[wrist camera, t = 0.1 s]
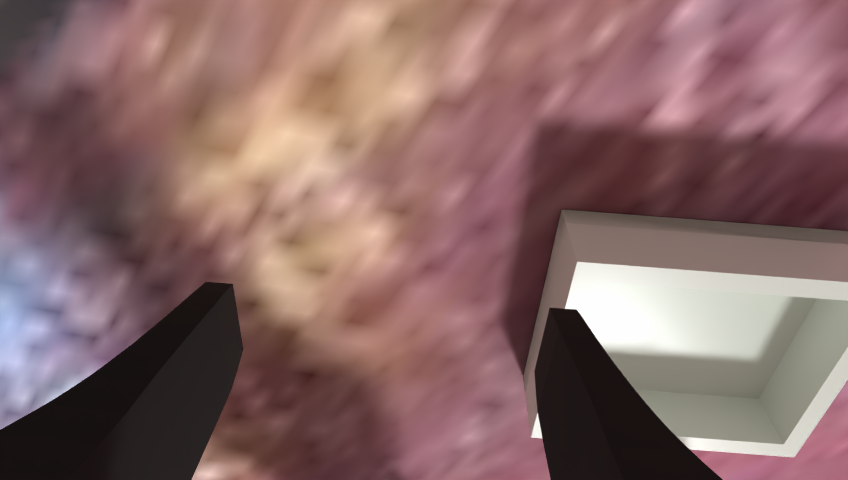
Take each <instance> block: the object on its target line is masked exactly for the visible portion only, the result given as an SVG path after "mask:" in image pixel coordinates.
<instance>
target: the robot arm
mask: <svg viewBox="0 0 848 480" xmlns="http://www.w3.org/2000/svg"><path fill="white" fill-rule="evenodd" d="M242 351H243V346H242V339H241V333H240V327H239V320H238V314H237V308H236V301H235V295H234V289H233V284H226V283H213V282H206V283H204V284H203V285H202V286H201V287H200V288H198V289H197V290H196V291H195V292H194V293H192V294H191V295H190V296H189V297H188V298H187V299H185V300H184V301H183V302H182V303H181V304H180V305H178V306H177V307H176V308H175V309H174V310H173V311H171V312H170V313H169V314H168V315H167V316H166V317H164V318H163V319H162V320H161V321H160V322H159V323H157V324H156V325H155V326H154V327H153V328H151V329H150V330H149V331H148V332H147V333H145V334H144V335H143V336H142V337H140V338H139V339H138V340H137V341H136V342H134V343H133V344H132V345H131V346H129V347H128V348H127V349H125V350H124V351H123V352H121V353H120V354H119V355H117V356H116V357H115V358H113V359H112V360H111V361H110V362H108V363H107V364H106V365H104V366H103V367H102V368H100V369H99V370H97V371H96V372H95V373H93V374H92V375H90V376H89V377H87V378H86V379H84V380H83V381H82V382H80V383H79V384H77V385H76V386H74V387H72V388H71V389H69V390H68V391H66V392H65V393H63V394H62V395H60V396H58V397H57V398H55V399H54V400H52V401H50V402H49V403H47V404H45V405H44V406H42V407H40V408H38V409H37V410H35V411H33V412H31V413H30V414H28V415H26V416H24V417H22V418H21V419H19V420H17V421H15V422H14V423H12V424H10V425H8V426H7V427H5V428H3V429H1V430H0V480H191V479H192V477H193V475H194V472H195V470H196V468H197V466H198V463H199V461H200V459H201V457H202V455H203V452H204V450H205V448H206V446H207V443H208V441H209V439H210V437H211V434H212V432H213V430H214V428H215V425H216V423H217V421H218V419H219V416H220V414H221V412H222V410H223V407H224V405H225V403H226V400H227V398H228V396H229V393H230V391H231V389H232V385H233V382H234V379H235V376H236V372H237V369H238V365H239V362H240V358H241V355H242ZM534 373H535V388H536V401H537V412H538V418H539V423H540V428H541V433H542V438H543V443H544V448H545V453H546V458H547V463H548V468H549V473H550V478H551V480H722V479H721V478H720V477H719V476H718V475H717V474H716V473H714V472H713V471H712V470H711V469H710V468H709V467H708V466H707V465H705V464H704V463H703V462H702V461H701V460H700V459H699V458H698V457H697V456H696V455H695V454H694V453H693V452H692V451H690V450H689V449H688V448H687V447H686V446H685V444H684V443H683V442H682V441H681V440H680V439H679V438H678V437H677V436H676V435H675V434H674V433H673V432H672V431H671V430H670V429H669V428H668V427H667V426H666V425H665V424H664V423H663V422H662V421H661V420H660V419H659V417H658V416H657V415H656V414H655V413H654V412H653V411H652V409H651V408H650V407H649V406H648V405H647V404H646V402H645V401H644V400H643V399H642V398H641V396H640V395H639V394H638V393H637V392H636V390H635V389H634V388H633V387H632V385H631V384H630V383H629V381H628V380H627V379H626V378H625V376H624V375H623V374H622V372H621V371H620V370H619V368H618V367H617V366H616V365H615V363H614V362H613V360H612V359H611V358H610V356H609V355H608V354H607V352H606V351H605V349H604V348H603V347H602V345H601V344H600V342H599V341H598V339H597V338H596V336H595V335H594V334H593V332H592V331H591V329H590V328H589V326H588V325H587V323H586V322H585V320H584V319H583V317H582V316H581V314H580V313H579V312H578V311H577V310H576V309H563V308H549V312H548V316H547V320H546V325H545V329H544V333H543V337H542V341H541V345H540V350H539V354H538V358H537V362H536V366H535V370H534Z"/></svg>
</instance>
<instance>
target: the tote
mask: <svg viewBox="0 0 848 480" xmlns="http://www.w3.org/2000/svg"><path fill="white" fill-rule="evenodd" d="M549 308H563V309H576V310H577V311H578V312H579V313H580V314H581V316H582V317H583V319H584V320H585V322H586V323H587V325H588V326H589V328H590V329H591V331H592V332H593V334H594V335H595V336H596V338H597V339H598V341H599V342H600V344H601V345H602V347H603V348H604V349H605V351H606V352H607V354H608V355H609V356H610V358H611V359H612V360H613V362H614V363H615V365H616V366H617V367H618V368H619V370H620V371H621V372H622V374H623V375H624V376H625V378H626V379H627V380H628V381H629V383H630V384H631V385H632V387H633V388H634V389H635V390H636V392H637V393H638V394H639V395H640V396H641V398H642V399H643V400H644V401H645V402H646V404H647V405H648V406H649V407H650V408H651V409H652V411H653V412H654V413H655V414H656V415H657V416H658V417H659V419H660V420H661V421H662V422H663V423H664V424H665V425H666V426H667V427H668V428H669V429H670V430H671V431H672V432H673V433H674V434H675V435H676V436H677V437H678V438H679V439H680V440H681V441H682V442H683V443H684V444H685V446H686V447H687V448H688V449H691V450H705V451H718V452H731V453H744V454H758V455H771V456H784V457H795V456H796V454H797V453H798V451H799V450H800V448H801V447H802V445H803V444H804V443H805V441H806V440H807V438H808V437H809V435H810V434H811V432H812V431H813V429H814V428H815V427H816V425H817V424H818V422H819V421H820V419H821V418H822V416H823V415H824V413H825V412H826V411H827V409H828V408H829V406H830V405H831V403H832V402H833V400H834V399H835V397H836V396H837V395H838V393H839V392H840V390H841V389H842V387H843V386H844V384H845V383H846V381H847V380H848V231H840V230H827V229H814V228H801V227H787V226H774V225H761V224H748V223H735V222H722V221H708V220H695V219H682V218H669V217H656V216H643V215H629V214H616V213H603V212H590V211H577V210H564V209H562V210H561V214H560V219H559V223H558V228H557V232H556V236H555V241H554V245H553V249H552V254H551V258H550V262H549V267H548V271H547V275H546V280H545V284H544V288H543V293H542V297H541V301H540V306H539V310H538V314H537V319H536V323H535V328H534V332H533V336H532V341H531V345H530V349H529V354H528V358H527V362H526V367H525V371H524V375H523V380H524V388H525V395H526V403H527V411H528V418H529V426H530V434H531V437H532V438H542V433H541V428H540V423H539V418H538V412H537V401H536V388H535V373H534V370H535V366H536V362H537V358H538V354H539V350H540V345H541V341H542V337H543V333H544V329H545V325H546V320H547V316H548V312H549Z"/></svg>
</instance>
